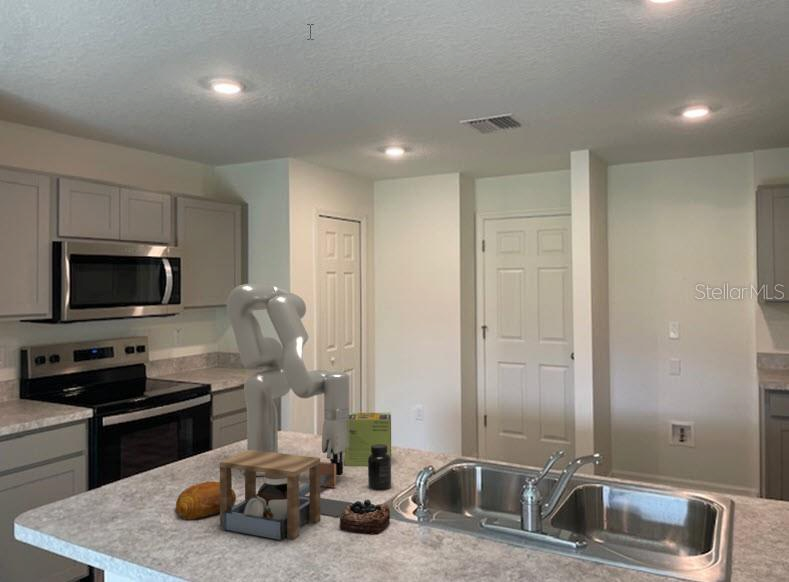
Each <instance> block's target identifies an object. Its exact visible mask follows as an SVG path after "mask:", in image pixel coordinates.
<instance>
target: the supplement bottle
mask: <svg viewBox="0 0 789 582" xmlns="http://www.w3.org/2000/svg"><path fill="white" fill-rule="evenodd" d="M387 452H388V450H387V445H384V444H375V445H372V446H371V453H372V454H371V455H370V456H369V457H368V466H367V474H368V475H367V477H368V478H367V481H368V485H367V486H368V488H370V489H371V490H373V491H374V490H375V491H383V490H388V489H390V488H391V487H392V456H391V457H390V455H388V454H387Z"/></svg>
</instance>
